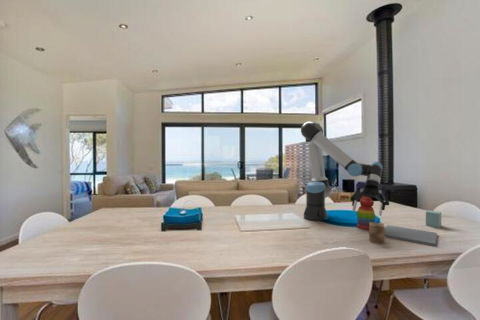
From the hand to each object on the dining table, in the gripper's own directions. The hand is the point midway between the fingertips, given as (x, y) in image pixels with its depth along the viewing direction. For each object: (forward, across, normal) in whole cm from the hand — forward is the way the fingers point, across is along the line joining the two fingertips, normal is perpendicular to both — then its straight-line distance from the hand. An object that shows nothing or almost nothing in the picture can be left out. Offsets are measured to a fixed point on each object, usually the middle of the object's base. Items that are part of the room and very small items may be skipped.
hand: (366, 212), depth 137 cm
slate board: (+6, -20, -7) cm, 22 cm away
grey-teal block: (-16, -29, -29) cm, 44 cm away
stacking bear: (+5, 0, -8) cm, 9 cm away
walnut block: (+20, -8, +7) cm, 22 cm away
